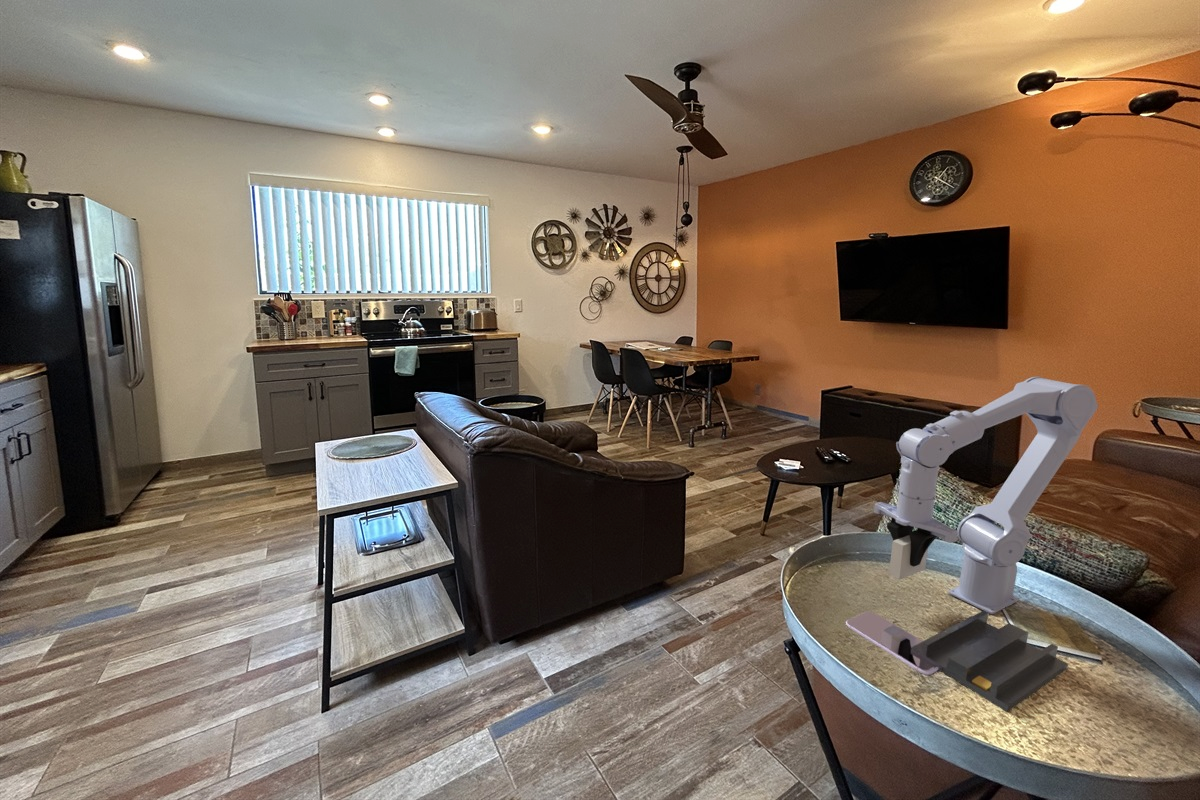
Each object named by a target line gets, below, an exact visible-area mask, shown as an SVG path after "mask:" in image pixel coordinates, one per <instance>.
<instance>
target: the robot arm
mask: <svg viewBox="0 0 1200 800" xmlns="http://www.w3.org/2000/svg"><path fill="white" fill-rule="evenodd" d="M1098 408H1099V405H1098V403H1097V398H1096V395H1095V392H1094V391H1093V389H1092V388H1091V387H1090V386H1088V385H1085V384H1079V383H1078V384H1077V383H1076V384H1074V383H1071V382H1070V383H1069V382H1064V381H1059V380H1055V379H1054V380H1053V379H1048V378H1044V377H1043V376H1042V377H1041V376H1032V377H1029V378H1027V379H1025V380H1024V381H1020V382H1017V383H1016V384H1015V385H1014V387H1013V390H1011V391H1009V392H1007V393H1006V394H1003V395H1002V396H1000V397H998V398H996V399H994V400H993V401H991V402H989V403H987V404H986V405H984V406H982V407H980V408H978V409H976V410H975V411H973V412H970V411H968V410H954V411H951V412H950V413H949V415H948V416H947V417H946V416H945V418H942V419H940V420H937V421H936V422H934V423H931V422H930V423H928V424H926V425H925V426H924V427H923V428H922V429H921V428H916V427H915V428H911V429H908V430H907V431H905V432H903V434H902V435H901V436H900V438H899V441H896V443H895V444H896V445H895V446H896V450H897V452H898V453H899V456H900V457H901V458H900V463H901V469H900V477H899V487H898V494H897V496H898V497H897V504H896V505H892V504H890V503H886V502H882V501H879V502H876V503H874V507H873V513H874V514H877V515H882V516H886V517H887V518H890V519H891V520H890V521H889V522H887V523H886V529H887V530H888V532H889V533H890V536H891V539H892V542H893V541H894V540H897V539H899V538H902V537H905V536H908V535H909V536H910V541H911V554H910V565H911V566H913V567H914V566H917V565H919V564H920V563H921V560H922V558H923V556H924V554H925V552H926V550H927V549H929V548H930V546H931V544H932V543H934V541H935V540H936V539H937V538H941V539H943V540H944V542H946V543H949V544H952V543H955V542H957V540H958V539H959V541H961V542H962V546H961V548H962V549H963V550H964V552H963V556H962V557H963V558H962V565H961V572H960V577H959V585H958V586H956V587H954V588H952V589H949V590H947V593H948V594H949V595H951V596H953V597H955V598H957V599H959V600H962V601H963V602H965V603H968V604H970V605H972V606H974V607H975V608H977V609H979V610H981V611H985V612H987V613H988V614H990V615H994V614H996V613H998V612H1000V611H1002V610H1004V609H1006V608H1007V607H1009V606H1011V605H1013V604H1014V603H1017V602H1019V598H1018V597H1017V596H1014V592H1015V591H1014V590H1015V586H1016V585H1015V584H1016V580H1017V573H1018V566H1017V563H1018V562H1019V561H1020V560H1021V559H1022V558H1023V557H1024V555H1025V552H1026V548H1027V543H1028V541H1029V540H1030V538H1031V537H1032V536H1031V535H1032V534H1031V533H1030V530H1029V529H1028V526H1027V524H1026V522H1025V519H1026V517H1027V516H1028V514H1029V512H1031V510H1032V509H1033V507H1034V506H1035V504H1036V503H1037V501H1038V499H1039V498H1040V497H1041V495H1042V494H1043V493H1044V490H1046V488H1047V487H1048V485H1049V484H1050V482H1051V480H1052V479H1053V478H1054V476H1055V475H1056V473H1057V472H1058V470H1059V468H1060V467H1061V466H1062V465H1063V463H1064V461H1065V460H1066V459H1067V457H1068V456H1069V454H1070V453H1071V451H1072V449H1074V447H1075V446H1076V444H1077V442H1078V441H1079V439H1080V437H1081V435H1082V431H1083V430H1084V429H1085V427H1086V426H1087V425H1088V423H1089V422H1090V420H1091V418H1092V417H1093V416H1094V414H1095V412H1096V411H1097V410H1098ZM1024 414H1026V415H1027V417H1028V418H1029V419H1030V420H1031V422H1032V423H1033V424H1034V426H1035V428H1036V432H1037V434H1036V435H1035V436H1034V438H1033V439H1032V441H1031V443H1029V446H1028V447H1027V449H1026V450H1024V453H1023V455H1022V456H1021V458H1020V459H1019V461H1018V462H1017V464H1015V466H1014V468H1013V469H1012V471H1011V473H1010V474H1009V475H1008V477H1007V479H1006V480H1005V481H1004V483H1003V485H1002V486H1001V487H1000V488H999V490H998V492H997V494H996V495H995V497H994V498H993V499H992V500H991V502H990V503H988V504H984V505H982V504H981V505H979V506H975V507H974V509H973V510H972V511H971V513H970V514H968V515H967V516H965V517H964V518H963V519H961V521H960V522H959V523H958V525H957V529H955V528H952V527H950V526H948V525H947V524H944V523H942V522H941V521H939V520H938V519H936V518H934V517H933V513H934V507H935V499H936V492H937V491H936V490H937V482H938V475H939V469H940V468H939V467H940V466H942V465H943V464H945V463H946V461H947V460H948V458H949V456H950V455H951V454H953V453H954V452H955V451H957V450H958V449H961V448H963V447H966V446H967V445H969V444H972V443H974V442H975V441H978V440H980V439H982V437H983V435H984V433H985V430H986V429H988V428H991V427H994V426H996V425H1000V424H1002V423H1003V422H1006V421H1009V420H1012V419H1015V418H1017V417H1020V416H1022V415H1024ZM995 523H998V524H999V525H1001V526H1002V527H1001V526H999V525H997V524H995ZM914 528H915V529H917V530H914ZM1005 607H1006V608H1005Z"/></svg>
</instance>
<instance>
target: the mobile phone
mask: <svg viewBox="0 0 1200 800" xmlns="http://www.w3.org/2000/svg"><path fill="white" fill-rule="evenodd" d="M845 623H846V624H845V626H846V625H847V626H848V627H847V626H846V627H847V628H848V629H850V630H851V631H853V632H855V633H857V634H858V635H860V636H862V637H863V638H864V639H866V640H867V641H870V642H871V643H873V644H874V645H875V646H877V647H879V648H880V649H882V650H883V651H885V652H887V653H888V654H890V655H891V656H893V657H894V658H895V659H897V660H899V661H901V662H903V663H904V664H906V665H907V666H909V667H910V668H912V669H914V671H915V670H916V671H917V672H918V673H921V674H923V675H927V676H928V675H932V674H933V673H935V672H937V671H939V670H938V667H937V666H936V665H934V664H932V663H931V662H929V661H927V660H926V659H924V658H922V657H921V656H919V655H918V654H916V653H914V652H913V651H911V647H913V646H915V645H917V644H919V643H921V642H923V641H924V640H922V639H920V638H919V637H917V636H916V635H913V634H911V633H910V632H908V631H906V630H905V629H903V628H901V627H899V626H897V625H896V624H894V623H893V622H891V621H889V620H888V619H885V618H883V617H882V616H881V615H879V614H878V613H875V612H873V611H868V610H867V611H864V612H863V613H860V614H859V615H856V616H853V617H852V618H850V619H847V620H845Z"/></svg>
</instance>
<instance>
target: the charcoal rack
mask: <svg viewBox="0 0 1200 800" xmlns="http://www.w3.org/2000/svg"><path fill="white" fill-rule="evenodd" d="M988 616H989V613H988V612H986V611H984V610H981V611H980V612H978V613H976V614H973V615H971V616H969V617H967V618H964V620H961V621H959V622H957V623H955V624H953V625H951V626H949V627H948V628H945V629H944V630H942V631H940V632H938V633H936V634H935V635H933V636H931V637H928V638H926V639H925V640H922V641H923V642H921V643H919V644H917V645H915V646H913V647H911V651H913V652H914V653H916V654H918V655H919V656H921V657H922V658H924V659H926V660H927V661H929V662H931V663H932V664H934V665H936V666H937V667H938V670H937V671H940V672H941V673H943V674H945V675H946V676H948V677H950V678H952V679H953V680H955V681H956V682H958V683H959V684H960V685H962V686H964V687H965V688H968V689H969V690H971V691H972V692H974V693H975V694H977V695H979V696H981V697H982V698H984V699H986V700H987V701H988V702H990V703H992V704H994V705H996V706H997V707H999V708H1000V709H1002V710H1004V711H1005V712H1007V713H1008V712H1009V711H1010V710H1012V709H1014V708H1015V707H1016V706H1018V705H1019V704H1021V703H1022V702H1023V701H1024V700H1026V699H1027V698H1029V697H1030V696H1032V695H1033V694H1035V693H1036V692H1038V691H1039V690H1040V689H1041V688H1043V687H1044V686H1046V685H1047V684H1049V683H1050V682H1051V681H1053V680H1054V679H1055V678H1058V676H1060V675H1061V674H1063V673H1064V672H1065V671H1067V670H1068V667H1069V663H1068V662H1066V661H1064V660H1062V659H1060V658H1057V653H1058V649H1059V648H1058V647H1059V646H1058V645H1056V644H1054V643H1051V644H1049V645H1047V646H1046V647H1044V648H1043V649H1039V648H1037V647H1036V646H1033V645H1031V644H1030V643H1028V637H1029V632H1028V631H1026V630H1024V629H1022V628H1021V627H1018V626H1016V625H1014V624H1012V623H1010V622H1009V623H1007V624H1005V625H1003V626H1001V627H1000V628H997V627H996V626H994V625H992V624H989V623H988V618H989V617H988Z"/></svg>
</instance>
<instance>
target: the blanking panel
mask: <svg viewBox="0 0 1200 800" xmlns="http://www.w3.org/2000/svg"><path fill="white" fill-rule="evenodd" d="M928 549H929V548H928ZM928 549H927V550H926V552H925V554H924V556H923V558H922V560H921V563H920V564H919V565H917V566H914V567H913V566H911V565H910V554H911V541H910V536H909V535H908V536H905V537H902V538H899V539H897V540H894V541H893V540H892V544H891V553H890V563H889V570H888V571H889V572H888V576H890V577H892V578H894V579H895V580H898V581H899V580H903V579H905V578H908V577H910V576H913V575H915V574H917V573H920V572H921V571H924V570H925V571H926V567H927V558H928V552H929V551H928Z"/></svg>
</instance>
